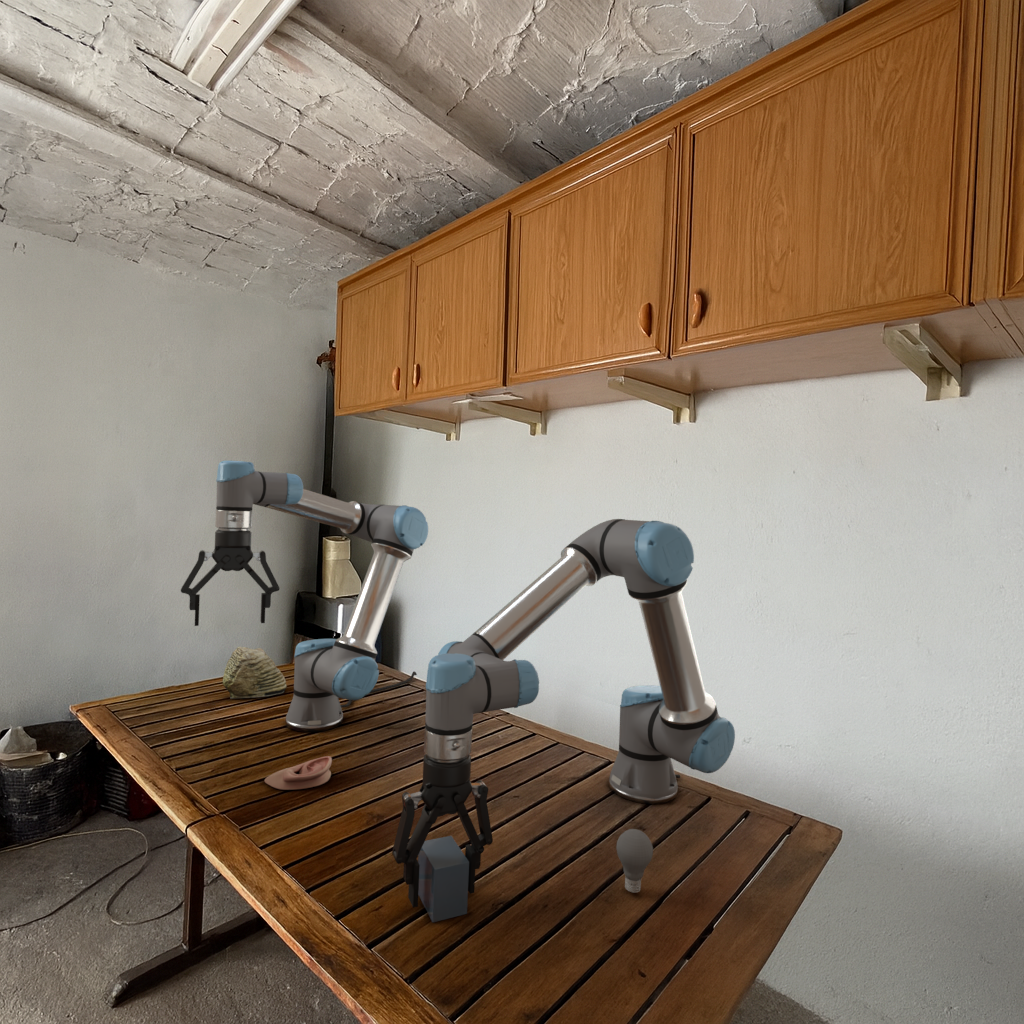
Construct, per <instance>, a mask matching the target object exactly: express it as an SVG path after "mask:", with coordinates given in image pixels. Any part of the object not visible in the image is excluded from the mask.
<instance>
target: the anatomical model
mask: <svg viewBox="0 0 1024 1024" xmlns="http://www.w3.org/2000/svg"><path fill="white" fill-rule="evenodd" d="M332 763H333V757H331V756H329V755H326V756H325V755H324V756H321V757H318V758H314V759H311V760H308V761H304V762H301V763H300V764H299V763H298V764H297V765H294V766H291V767H287V768H283V769H280V770H278V771H275V772H273V773H272V774H270V775H268V776H267V777H265V779H264V783H265V784H267V785H268V786H270V787H272V788H274V789H277V790H281V791H291V790H293V791H294V790H303V789H309V788H313V787H319V786H321V785H323V784H326V783H327V782H328V781H329V780H330V779H331V776H332V772H331V770H330V768H331V766H332Z"/></svg>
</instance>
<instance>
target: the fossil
mask: <svg viewBox="0 0 1024 1024" xmlns="http://www.w3.org/2000/svg"><path fill="white" fill-rule="evenodd" d="M222 676H223V677H222V685H223V687H224V688H225V690H226V691H228V693H229V698H230V699H250V698H264V697H271V696H275V695H281V694H284V693H285V691H286V689H287V687H288V686H287V680H286V678H285V676H284V674H283V673H282V672H281V669H279V668H278V667H277V665H276V663H275V662H274V660H273V659H272V658H271V657H270V656H269V655H268V654H267V653H266V652H265V650H264V649H263V648H260V647H258V648H251V647H247V646H246V647H245V646H238V647H237V648H236V649H235V650H233V651H232V653H231V656H230V657H229V659H228V660H227V663H226V666H225V668H224V671H223V675H222Z"/></svg>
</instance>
